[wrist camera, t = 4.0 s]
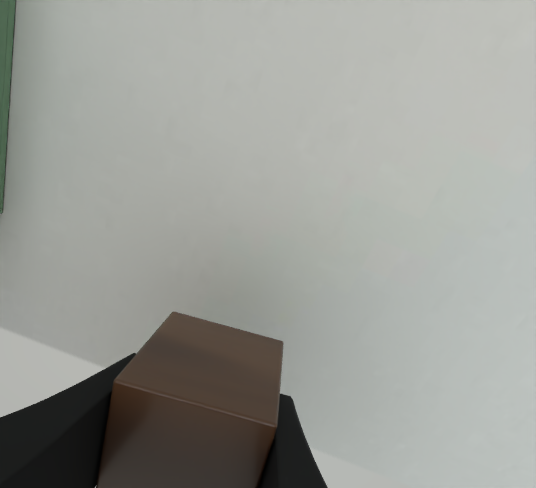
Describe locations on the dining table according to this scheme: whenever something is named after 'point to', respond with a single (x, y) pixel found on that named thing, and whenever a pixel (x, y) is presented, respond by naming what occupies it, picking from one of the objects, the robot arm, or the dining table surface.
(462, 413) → the dining table surface
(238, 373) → the block
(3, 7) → the carton
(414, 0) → the dining table surface
